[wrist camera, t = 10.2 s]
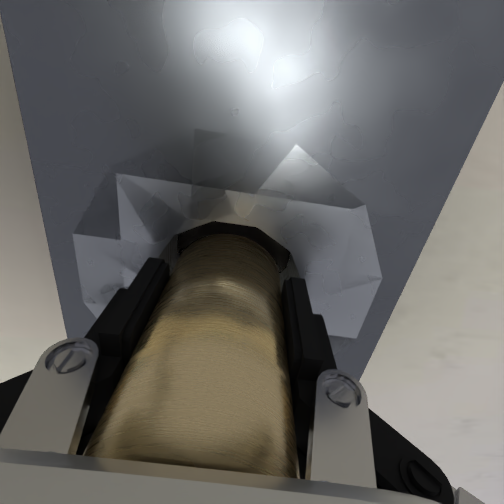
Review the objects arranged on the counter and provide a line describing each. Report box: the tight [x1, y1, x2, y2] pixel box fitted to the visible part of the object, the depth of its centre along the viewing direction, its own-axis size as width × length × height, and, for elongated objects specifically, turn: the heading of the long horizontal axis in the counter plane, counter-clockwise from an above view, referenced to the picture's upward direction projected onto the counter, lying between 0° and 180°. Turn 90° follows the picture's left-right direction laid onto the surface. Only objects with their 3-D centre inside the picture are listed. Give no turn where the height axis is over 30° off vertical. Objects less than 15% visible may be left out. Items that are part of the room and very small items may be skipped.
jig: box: [0, 0, 504, 381], centre depth 13 cm, size 18×14×4 cm
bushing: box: [83, 234, 300, 479], centre depth 9 cm, size 4×4×8 cm
